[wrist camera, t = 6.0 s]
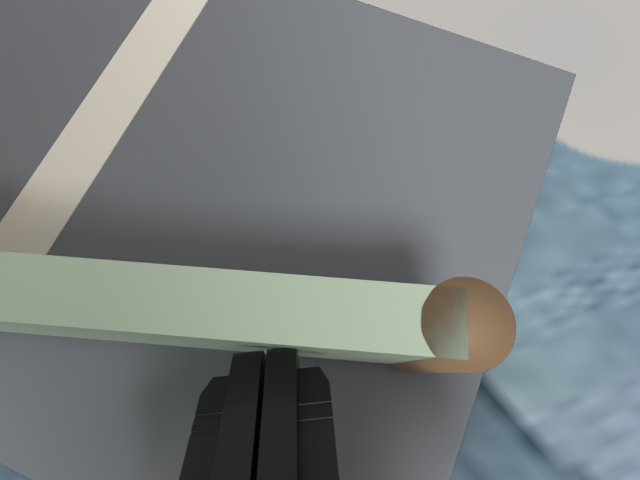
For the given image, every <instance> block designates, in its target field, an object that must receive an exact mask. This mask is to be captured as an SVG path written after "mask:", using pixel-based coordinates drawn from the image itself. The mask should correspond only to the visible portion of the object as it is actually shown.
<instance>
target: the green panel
mask: <svg viewBox="0 0 640 480" xmlns="http://www.w3.org/2000/svg"><path fill="white" fill-rule="evenodd" d="M0 331H2V332H14V333H26V334H38V335H50V336H62V337H74V338H86V339H98V340H110V341H122V342H134V343H146V344H158V345H170V346H182V347H194V348H206V349H217V350H229V351H241V352H251V351H261V350H264V352H265V354H267V350H270V349H280V348H296V349H297V351H298V356H301V357H313V358H325V359H337V360H349V361H361V362H373V363H385V364H390V365H391V366H392V367H393V368H395V369H397V370H399V371H401V372H405V373H478V372H484V371H487V370H490V369H492V368H494V367H496V366H497V365H499V364H500V363H501V362H502V361H504V359H505V358H506V357H507V356H508V354H509V353H510V351H511V349H512V347H513V345H514V341H515V336H516V322H515V317H514V314H513V311H512V308H511V307H510V305H509V303H508V301H507V300H506V298H505V297H504V296H503V295H502V294H501V292H499V291H498V290H497V289H496V288H495V287H493V286H492V285H491V284H489V283H487V282H485V281H483V280H480V279H477V278H473V277H454V278H450V279H447V280H445V281H443V282H441V283H439V284H438V285H437V286H436V285H423V284H410V283H397V282H384V281H372V280H359V279H346V278H333V277H321V276H308V275H295V274H282V273H269V272H257V271H244V270H231V269H218V268H206V267H193V266H180V265H167V264H154V263H142V262H129V261H116V260H103V259H91V258H78V257H65V256H52V255H40V254H27V253H14V252H1V251H0Z"/></svg>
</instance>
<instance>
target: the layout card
mask: <svg viewBox="0 0 640 480" xmlns="http://www.w3.org/2000/svg"><path fill="white" fill-rule="evenodd" d="M575 76H576V74H573V73H571V72H568V71H565V70H562V69H559V68H556V67H553V66H550V65H547V64H544V63H541V62H538V61H535V60H532V59H529V58H526V57H523V56H520V55H517V54H514V53H511V52H508V51H505V50H502V49H499V48H496V47H493V46H491V45H488V44H484V43H482V42H479V41H476V40H473V39H470V38H467V37H464V36H461V35H458V34H455V33H452V32H449V31H446V30H443V29H440V28H437V27H434V26H431V25H428V24H425V23H422V22H419V21H417V20H414V19H410V18H407V17H405V16H402V15H399V14H396V13H393V12H389V11H387V10H384V9H381V8H378V7H375V6H372V5H369V4H366V3H363V2H360V1H357V0H0V251H1V252H14V253H27V254H40V255H52V256H65V257H78V258H91V259H103V260H116V261H129V262H142V263H154V264H167V265H180V266H193V267H206V268H218V269H231V270H244V271H257V272H269V273H282V274H295V275H308V276H321V277H333V278H346V279H359V280H372V281H384V282H397V283H410V284H423V285H436V286H437V285H438V284H439V283H441V282H443V281H445V280H447V279H450V278H454V277H473V278H477V279H480V280H483V281H485V282H487V283H489V284H491V285H492V286H493V287H495V288H496V289H497V290H498V291H499V292H501V294H502V295H503V296H504V297H505V298H507V295H508V292H509V288H510V285H511V282H512V279H513V276H514V272H515V269H516V266H517V263H518V259H519V256H520V253H521V250H522V247H523V243H524V240H525V237H526V234H527V231H528V227H529V224H530V221H531V218H532V214H533V211H534V208H535V205H536V202H537V198H538V195H539V192H540V189H541V185H542V182H543V179H544V176H545V173H546V169H547V166H548V163H549V160H550V157H551V153H552V150H553V147H554V144H555V140H556V137H557V134H558V131H559V127H560V124H561V121H562V118H563V115H564V111H565V108H566V105H567V102H568V99H569V95H570V92H571V89H572V85H573V82H574V79H575ZM234 353H241V351H229V350H217V349H206V348H194V347H182V346H170V345H158V344H146V343H134V342H122V341H110V340H98V339H86V338H74V337H62V336H50V335H38V334H26V333H14V332H2V331H0V463H1V464H3V465H5V466H7V467H8V468H10V469H12V470H14V471H16V472H18V473H20V474H22V475H23V476H25V477H27V478H29V479H31V480H179V477H180V473H181V469H182V465H183V461H184V457H185V453H186V449H187V445H188V441H189V437H190V435H191V429H192V425H193V421H194V418H195V413H196V409H197V405H198V401H199V397H200V394H201V393H202V391H203V390H204V388H205V387H206V386H207V384H208V383H209V382H210V380H211V379H212V378H213V377H220V376H229V372H230V367H231V361H232V356H233V354H234ZM265 356H266V354H265ZM298 358H299V365H300V368H308V367H318V366H319V367H320V368H321V370H322V371H323V373H324V374H325V376H326V377H327V378H328V380H329V381H330V391H331V401H332V411H333V421H334V431H335V441H336V451H337V461H338V471H339V480H450V478H451V475H452V472H453V469H454V465H455V462H456V459H457V456H458V453H459V449H460V446H461V443H462V440H463V436H464V433H465V430H466V427H467V424H468V420H469V417H470V414H471V411H472V408H473V404H474V401H475V398H476V395H477V391H478V388H479V385H480V382H481V379H482V375H483V372H478V373H405V372H401V371H399V370H397V369H395V368H393V367H392V366H391V365H390V364H385V363H373V362H361V361H349V360H337V359H325V358H313V357H301V356H298Z"/></svg>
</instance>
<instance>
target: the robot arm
mask: <svg viewBox="0 0 640 480" xmlns="http://www.w3.org/2000/svg"><path fill="white" fill-rule="evenodd" d="M179 480H339V471H338V461H337V451H336V441H335V431H334V421H333V411H332V401H331V391H330V381H329V380H328V378H327V377H326V376H325V374H324V373H323V371H322V370H321V368H320V367H319V366H318V367H308V368H300V365H299V358H298V351H297V349H296V348H280V349H270V350H267V354H266V356H265V352H264V350H261V351H251V352H241V353H234V354H233V356H232V361H231V367H230V372H229V376H220V377H213V378H212V379H211V380H210V382H209V383H208V384H207V386H206V387H205V388H204V390H203V391H202V393H201V394H200V397H199V401H198V405H197V409H196V413H195V418H194V421H193V425H192V429H191V435H190V437H189V441H188V445H187V449H186V453H185V457H184V461H183V465H182V469H181V473H180V477H179Z"/></svg>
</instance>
